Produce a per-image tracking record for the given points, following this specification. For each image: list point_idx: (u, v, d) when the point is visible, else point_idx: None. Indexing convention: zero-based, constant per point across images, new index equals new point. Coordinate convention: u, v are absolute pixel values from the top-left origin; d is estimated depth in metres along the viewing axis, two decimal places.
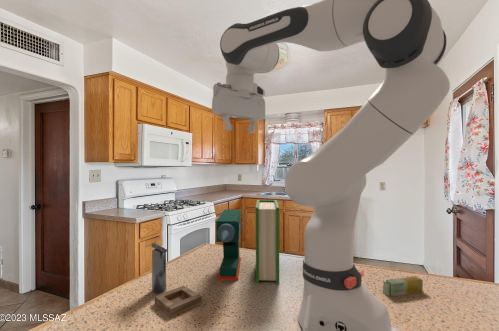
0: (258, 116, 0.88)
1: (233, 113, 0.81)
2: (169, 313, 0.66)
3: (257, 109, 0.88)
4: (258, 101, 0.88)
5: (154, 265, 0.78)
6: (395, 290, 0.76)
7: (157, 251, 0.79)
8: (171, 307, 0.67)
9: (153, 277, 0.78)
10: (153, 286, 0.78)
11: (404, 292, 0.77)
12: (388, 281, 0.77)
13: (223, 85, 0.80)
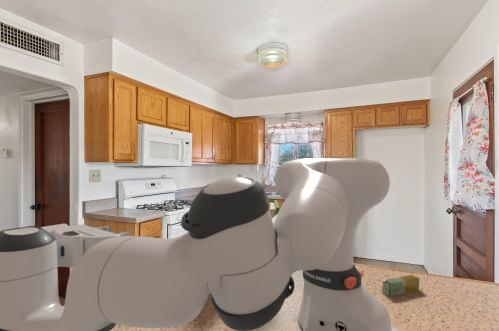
0: None
1: None
2: None
3: None
4: None
5: None
6: (394, 290, 0.76)
7: None
8: None
9: None
10: None
11: (403, 291, 0.77)
12: (387, 281, 0.77)
13: None
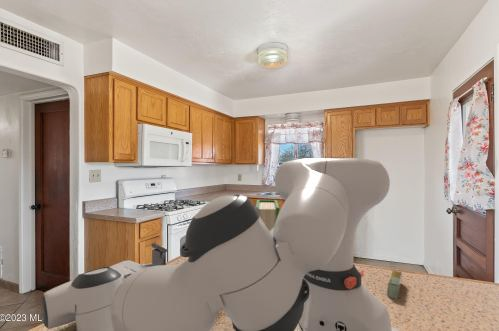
0: None
1: None
2: None
3: None
4: None
5: (154, 265, 0.78)
6: (398, 290, 0.76)
7: (157, 251, 0.79)
8: None
9: None
10: None
11: (399, 289, 0.79)
12: (392, 283, 0.76)
13: None
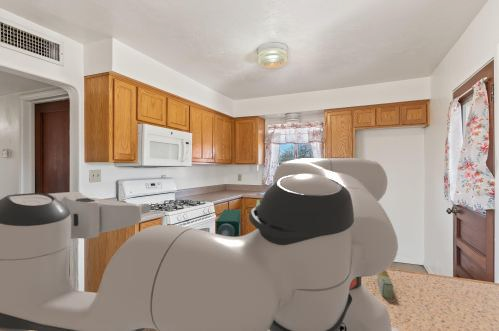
0: None
1: None
2: None
3: None
4: None
5: None
6: None
7: None
8: None
9: None
10: None
11: None
12: (387, 283, 0.76)
13: None
